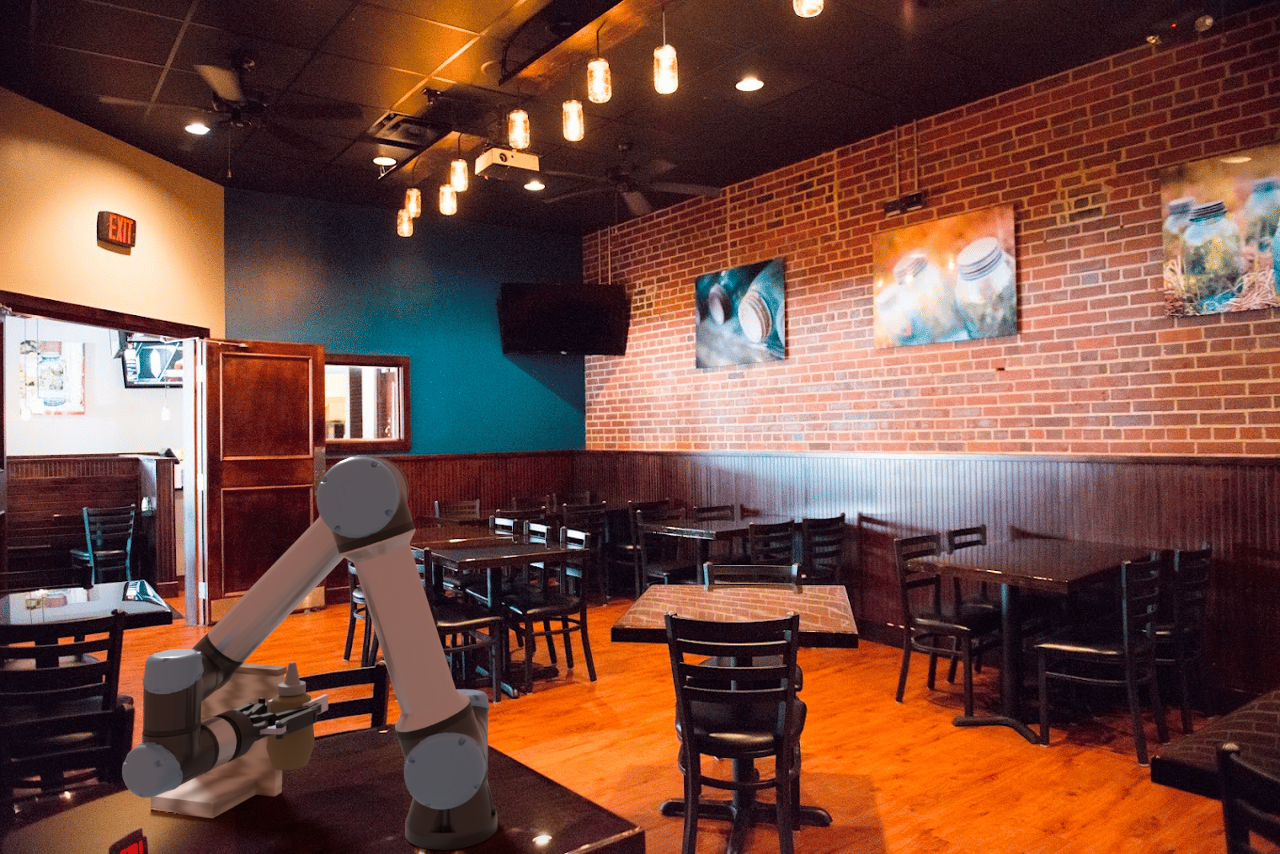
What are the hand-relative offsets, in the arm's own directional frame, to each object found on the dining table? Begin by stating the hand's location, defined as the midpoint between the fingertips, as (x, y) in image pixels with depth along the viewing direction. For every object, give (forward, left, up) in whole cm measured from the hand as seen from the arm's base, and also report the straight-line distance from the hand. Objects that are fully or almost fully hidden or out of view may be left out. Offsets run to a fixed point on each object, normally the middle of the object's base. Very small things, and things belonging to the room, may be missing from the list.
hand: (308, 700), depth 157 cm
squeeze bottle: (-3, +4, -10) cm, 11 cm away
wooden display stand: (+12, +12, -18) cm, 24 cm away
